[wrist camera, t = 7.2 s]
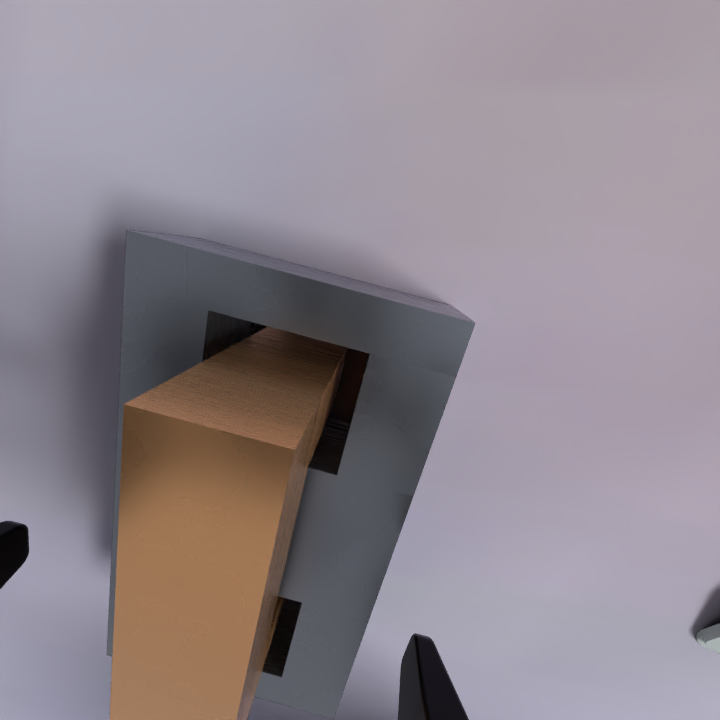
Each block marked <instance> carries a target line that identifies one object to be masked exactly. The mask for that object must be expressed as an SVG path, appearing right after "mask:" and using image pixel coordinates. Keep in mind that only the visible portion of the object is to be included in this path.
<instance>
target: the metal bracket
mask: <svg viewBox="0 0 720 720" xmlns="http://www.w3.org/2000/svg"><path fill="white" fill-rule="evenodd" d="M696 639H697V641H698V643H699V644H700V645H701V646H703V647H705V648H707V649H710V650H712V651H714V652H717V653H719V654H720V623H719V624H716V625H713V626H711V627H708V628H705V629H702V630H700V631H699V632H698V633H697V635H696Z"/></svg>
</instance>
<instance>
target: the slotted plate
mask: <svg viewBox="0 0 720 720" xmlns="http://www.w3.org/2000/svg"><path fill="white" fill-rule="evenodd" d="M252 322H254V323H258V324H261V325H265V326H269V327H272V328H276V329H280V330H284V331H287V332H291V333H295V334H298V335H302V336H306V337H310V338H313V339H317V340H321V341H324V342H328V343H332V344H336V345H339V346H343V347H347V348H351V349H354V350H358V351H362V352H365V353H369V355H368V359H367V363H366V366H365V370H364V374H363V378H362V381H361V385H360V389H359V392H358V396H357V400H356V403H355V407H354V411H353V414H352V418H351V422H350V423H348V422H344V421H341V420H337V419H333V418H330V417H328V419H327V421H326V424H325V426H324V429H323V431H322V434H321V436H320V438H319V441H318V443H317V446H316V448H315V451H314V453H313V456H312V458H311V461H310V463H309V466H308V469H307V474H306V478H305V482H304V487H303V491H302V495H301V499H300V504H299V508H298V512H297V516H296V521H295V525H294V529H293V534H292V538H291V542H290V546H289V551H288V555H287V559H286V563H285V568H284V572H283V576H282V581H281V585H280V589H279V593H278V596H280V597H284V598H285V600H284V603H283V606H282V610H281V613H280V616H279V619H278V622H277V625H276V629H275V632H274V635H273V638H272V641H271V645H270V648H269V651H268V654H267V657H266V660H265V664H264V667H263V670H262V673H261V676H260V680H259V683H258V686H257V689H256V692H255V695H254V697H257V698H261V699H264V700H268V701H271V702H275V703H278V704H282V705H286V706H289V707H293V708H296V709H300V710H303V711H307V712H310V713H314V714H317V715H321V716H325V717H328V718H332V719H333V718H334V716H335V713H336V710H337V707H338V704H339V702H340V699H341V696H342V693H343V691H344V688H345V685H346V682H347V679H348V677H349V674H350V671H351V668H352V665H353V663H354V660H355V657H356V654H357V652H358V649H359V646H360V643H361V640H362V638H363V635H364V632H365V629H366V626H367V624H368V621H369V618H370V615H371V613H372V610H373V607H374V604H375V601H376V599H377V596H378V593H379V590H380V587H381V585H382V582H383V579H384V576H385V574H386V571H387V568H388V565H389V562H390V560H391V557H392V554H393V551H394V548H395V546H396V543H397V540H398V537H399V535H400V532H401V529H402V526H403V523H404V521H405V518H406V515H407V512H408V509H409V507H410V504H411V501H412V498H413V496H414V493H415V490H416V487H417V484H418V482H419V479H420V476H421V473H422V470H423V468H424V465H425V462H426V459H427V457H428V454H429V451H430V448H431V445H432V443H433V440H434V437H435V434H436V431H437V429H438V426H439V423H440V420H441V418H442V415H443V412H444V409H445V406H446V404H447V401H448V398H449V395H450V392H451V390H452V387H453V384H454V381H455V379H456V376H457V373H458V370H459V367H460V365H461V362H462V359H463V356H464V353H465V351H466V348H467V345H468V342H469V340H470V337H471V334H472V331H473V328H474V326H475V322H473V321H472V320H471V319H469V318H468V317H467V316H465V315H464V314H463V313H461V312H460V311H459V310H457V309H456V308H455V307H453V306H451V305H448V304H444V303H440V302H436V301H433V300H429V299H425V298H421V297H418V296H414V295H410V294H406V293H403V292H399V291H395V290H391V289H388V288H384V287H380V286H376V285H373V284H369V283H365V282H361V281H358V280H354V279H350V278H346V277H343V276H339V275H335V274H331V273H328V272H324V271H320V270H316V269H313V268H309V267H305V266H301V265H298V264H294V263H290V262H286V261H283V260H279V259H275V258H271V257H268V256H264V255H260V254H256V253H253V252H249V251H245V250H241V249H237V248H234V247H230V246H226V245H222V244H219V243H215V242H211V241H207V240H204V239H200V238H193V237H184V236H176V235H167V234H158V233H150V232H141V231H132V230H126V250H125V272H124V293H123V315H122V337H121V358H120V380H119V402H118V423H117V445H116V467H115V488H114V510H113V532H112V553H111V575H110V597H109V618H108V640H107V655H108V656H113V634H114V611H115V589H116V566H117V544H118V521H119V499H120V476H121V454H122V431H123V409H124V404H125V403H127V402H129V401H131V400H132V399H134V398H136V397H138V396H140V395H142V394H144V393H145V392H147V391H149V390H151V389H153V388H155V387H157V386H158V385H160V384H162V383H164V382H166V381H168V380H170V379H171V378H173V377H175V376H177V375H179V374H181V373H183V372H184V371H186V370H188V369H190V368H192V367H194V366H196V365H198V364H199V363H201V362H203V361H205V360H207V359H209V358H211V357H212V356H214V355H216V354H218V353H220V352H222V351H224V350H225V349H227V348H229V347H231V346H233V345H235V344H237V343H238V342H240V341H242V340H244V339H246V338H248V337H250V334H251V328H252Z"/></svg>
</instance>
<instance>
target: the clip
mask: <svg viewBox="0 0 720 720" xmlns="http://www.w3.org/2000/svg"><path fill="white" fill-rule="evenodd" d="M347 350H348V348H347V347H343V346H339V345H336V344H332V343H328V342H324V341H321V340H317V339H313V338H310V337H306V336H302V335H298V334H295V333H291V332H287V331H284V330H280V329H276V328H272V327H269V326H268V327H266V328H264V329H263V330H261V331H259V332H257V333H255V334H253V335H251V336H250V337H248V338H246V339H244V340H242V341H240V342H238V343H237V344H235V345H233V346H231V347H229V348H227V349H225V350H224V351H222V352H220V353H218V354H216V355H214V356H212V357H211V358H209V359H207V360H205V361H203V362H201V363H199V364H198V365H196V366H194V367H192V368H190V369H188V370H186V371H184V372H183V373H181V374H179V375H177V376H175V377H173V378H171V379H170V380H168V381H166V382H164V383H162V384H160V385H158V386H157V387H155V388H153V389H151V390H149V391H147V392H145V393H144V394H142V395H140V396H138V397H136V398H134V399H132V400H131V401H129V402H127V403H125V404H124V409H123V431H122V454H121V476H120V499H119V521H118V544H117V566H116V589H115V611H114V634H113V656H112V679H111V701H110V720H247V718H248V715H249V711H250V708H251V705H252V702H253V699H254V695H255V692H256V689H257V686H258V683H259V680H260V676H261V673H262V670H263V667H264V664H265V660H266V657H267V654H268V651H269V648H270V645H271V641H272V638H273V635H274V632H275V629H276V625H277V622H278V619H279V616H280V613H281V610H282V606H283V603H284V600H285V598H284V597H280V596H278V593H279V589H280V585H281V581H282V576H283V572H284V568H285V563H286V559H287V555H288V551H289V546H290V542H291V538H292V534H293V529H294V525H295V521H296V516H297V512H298V508H299V504H300V499H301V495H302V491H303V487H304V482H305V478H306V474H307V469H308V466H309V463H310V461H311V458H312V456H313V453H314V451H315V448H316V446H317V443H318V441H319V438H320V436H321V434H322V431H323V429H324V426H325V424H326V421H327V419H328V416H329V414H330V411H331V409H332V406H333V404H334V401H335V399H336V395H337V391H338V386H339V382H340V378H341V374H342V370H343V366H344V362H345V358H346V354H347Z"/></svg>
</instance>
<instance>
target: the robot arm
mask: <svg viewBox="0 0 720 720" xmlns="http://www.w3.org/2000/svg"><path fill="white" fill-rule="evenodd" d="M28 554H29V537H28V527H27V526H26V525H24V524H21V523H17V522H13V521H4V522H1V523H0V589H1V588H2V587H3V586H4V584H5V583H6V582H7V581H8V580H9V579H10V578H11V577H12V576H13V574H14V573H15V572H16V571H17V570H18V569H19V568H20V567H21V566H22V564H23V563H24V562H25V560H26V558H27V557H28ZM398 720H469V719H468V717H467V715H466V712H465V710H464V708H463V706H462V704H461V701H460V699H459V697H458V695H457V693H456V690H455V688H454V686H453V684H452V682H451V679H450V677H449V675H448V673H447V671H446V668H445V666H444V664H443V662H442V660H441V657H440V655H439V653H438V651H437V649H436V646H435V644H434V642H433V641H432V639H431V638H429V637H427V636H423V635H420V634H416V633H415V634H413V635H412V637H411V639H410V641H409V644H408V646H407V648H406V651H405V653H404V656H403V659H402V663H401V673H400V692H399V711H398Z"/></svg>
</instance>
